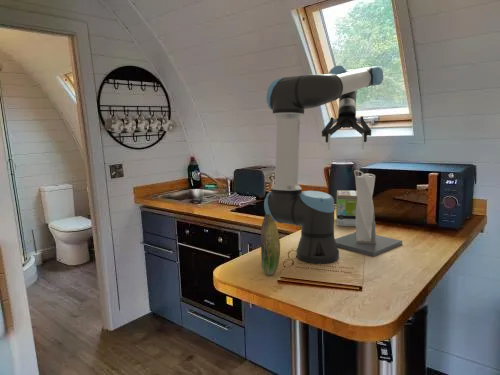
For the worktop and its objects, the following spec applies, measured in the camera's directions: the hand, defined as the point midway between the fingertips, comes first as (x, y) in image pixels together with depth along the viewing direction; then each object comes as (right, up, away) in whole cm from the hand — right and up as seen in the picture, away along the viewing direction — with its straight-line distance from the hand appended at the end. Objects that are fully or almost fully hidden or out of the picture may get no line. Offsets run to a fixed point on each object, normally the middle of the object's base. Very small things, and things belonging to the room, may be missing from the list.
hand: (345, 147), depth 158 cm
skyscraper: (+6, -38, -6) cm, 39 cm away
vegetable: (-32, -45, -34) cm, 65 cm away
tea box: (+8, -34, +29) cm, 45 cm away
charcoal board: (+6, -39, -6) cm, 40 cm away
